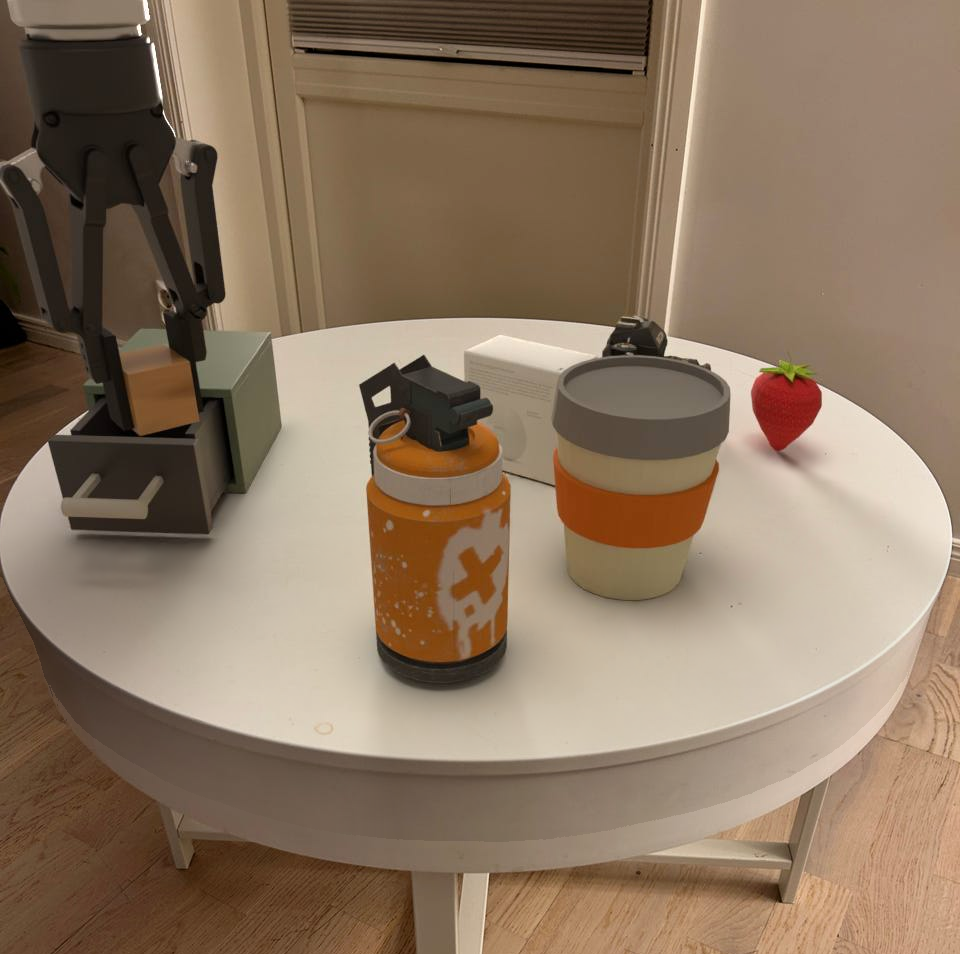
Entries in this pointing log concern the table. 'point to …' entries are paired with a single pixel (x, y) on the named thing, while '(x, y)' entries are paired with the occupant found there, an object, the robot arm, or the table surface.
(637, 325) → the film camera
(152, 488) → the open drawer
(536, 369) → the cosmetics box
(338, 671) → the table surface
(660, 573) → the reusable coffee cup
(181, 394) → the block
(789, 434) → the strawberry
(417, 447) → the canister
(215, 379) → the small drawer cabinet
